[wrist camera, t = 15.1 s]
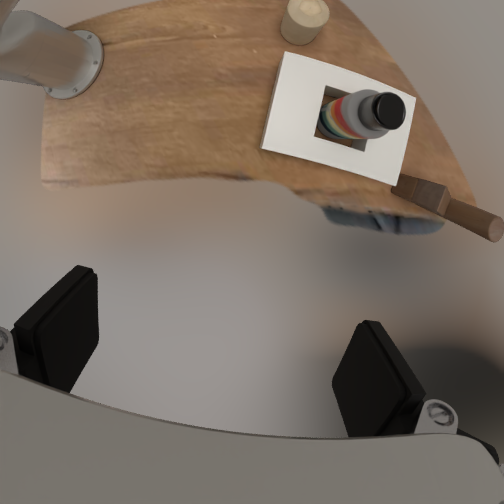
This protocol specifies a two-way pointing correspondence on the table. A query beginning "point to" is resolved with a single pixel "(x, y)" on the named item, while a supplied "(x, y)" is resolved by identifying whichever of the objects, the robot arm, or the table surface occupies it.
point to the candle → (303, 20)
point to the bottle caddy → (307, 111)
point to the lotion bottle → (362, 115)
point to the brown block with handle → (449, 206)
